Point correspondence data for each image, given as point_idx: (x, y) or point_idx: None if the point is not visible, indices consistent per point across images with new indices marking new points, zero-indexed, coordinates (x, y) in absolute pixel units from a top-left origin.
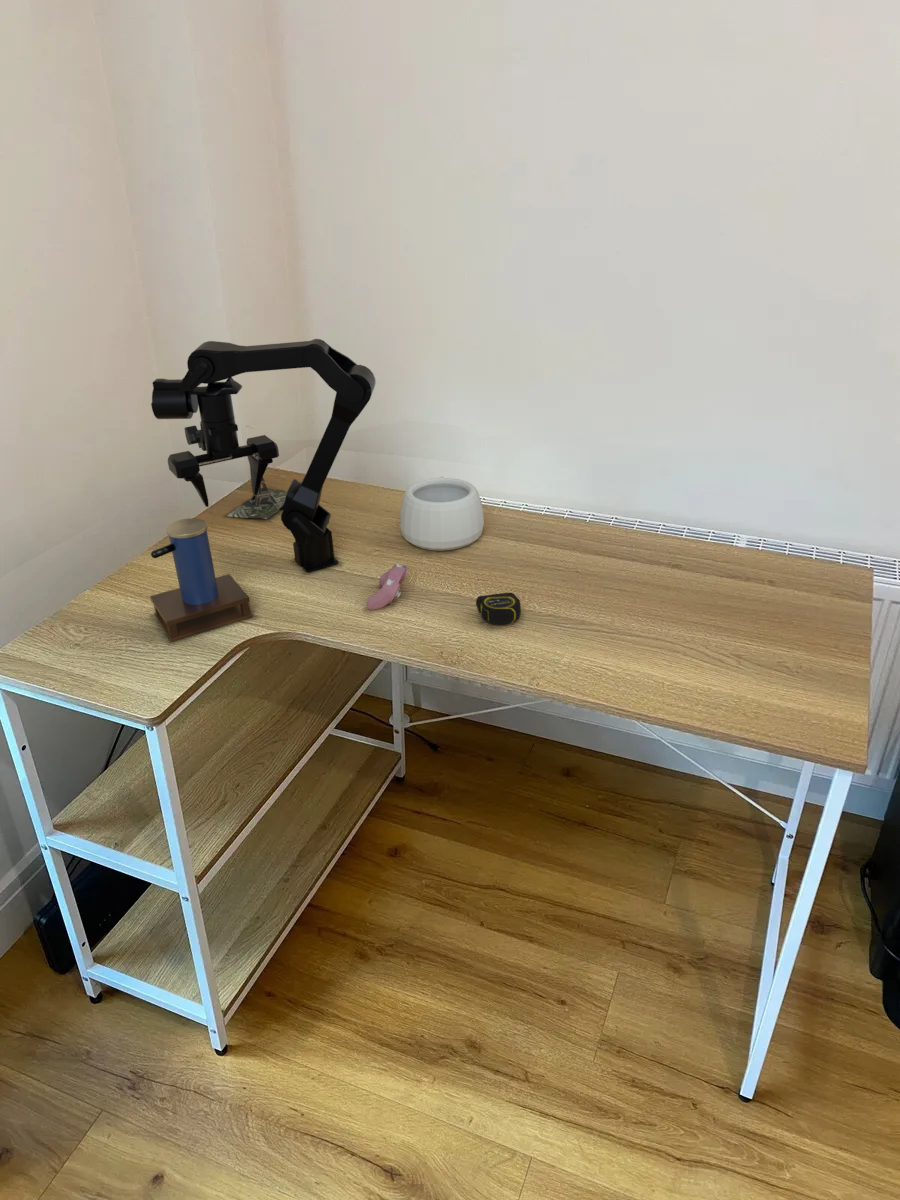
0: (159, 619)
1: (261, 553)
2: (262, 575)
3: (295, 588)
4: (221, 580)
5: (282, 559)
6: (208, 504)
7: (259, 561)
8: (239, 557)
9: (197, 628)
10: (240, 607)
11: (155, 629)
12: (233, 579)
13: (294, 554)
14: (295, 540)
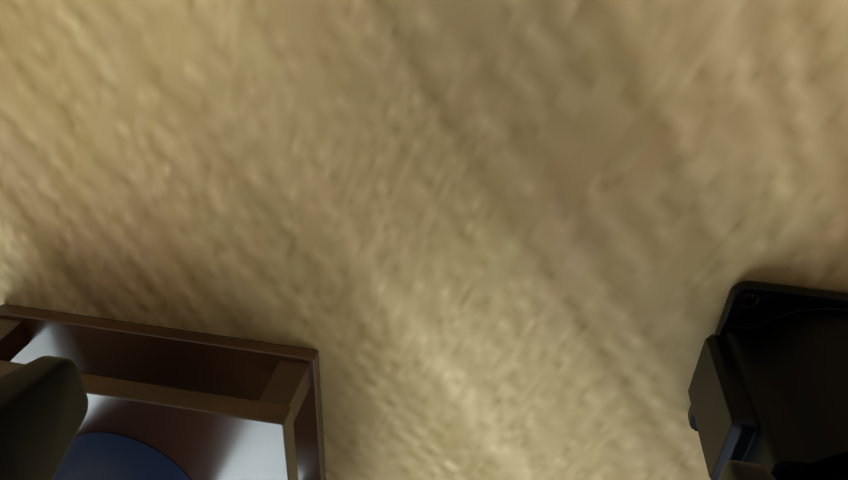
0: (14, 360)
1: (646, 67)
2: (503, 301)
3: (559, 469)
4: (234, 447)
5: (692, 223)
6: (73, 438)
7: (573, 159)
8: (501, 26)
9: None
10: (302, 470)
11: None
12: (285, 472)
13: (715, 366)
14: (760, 431)
